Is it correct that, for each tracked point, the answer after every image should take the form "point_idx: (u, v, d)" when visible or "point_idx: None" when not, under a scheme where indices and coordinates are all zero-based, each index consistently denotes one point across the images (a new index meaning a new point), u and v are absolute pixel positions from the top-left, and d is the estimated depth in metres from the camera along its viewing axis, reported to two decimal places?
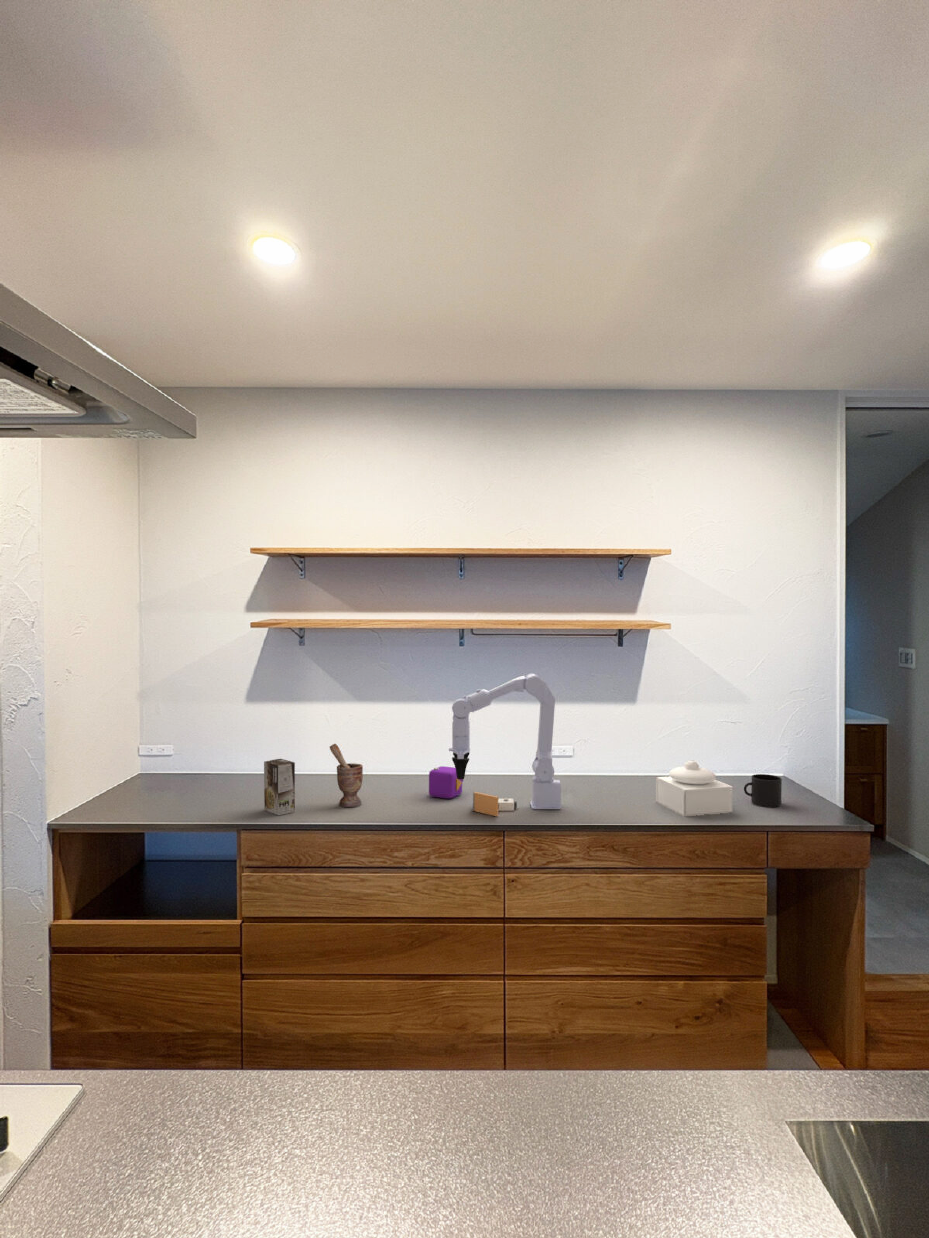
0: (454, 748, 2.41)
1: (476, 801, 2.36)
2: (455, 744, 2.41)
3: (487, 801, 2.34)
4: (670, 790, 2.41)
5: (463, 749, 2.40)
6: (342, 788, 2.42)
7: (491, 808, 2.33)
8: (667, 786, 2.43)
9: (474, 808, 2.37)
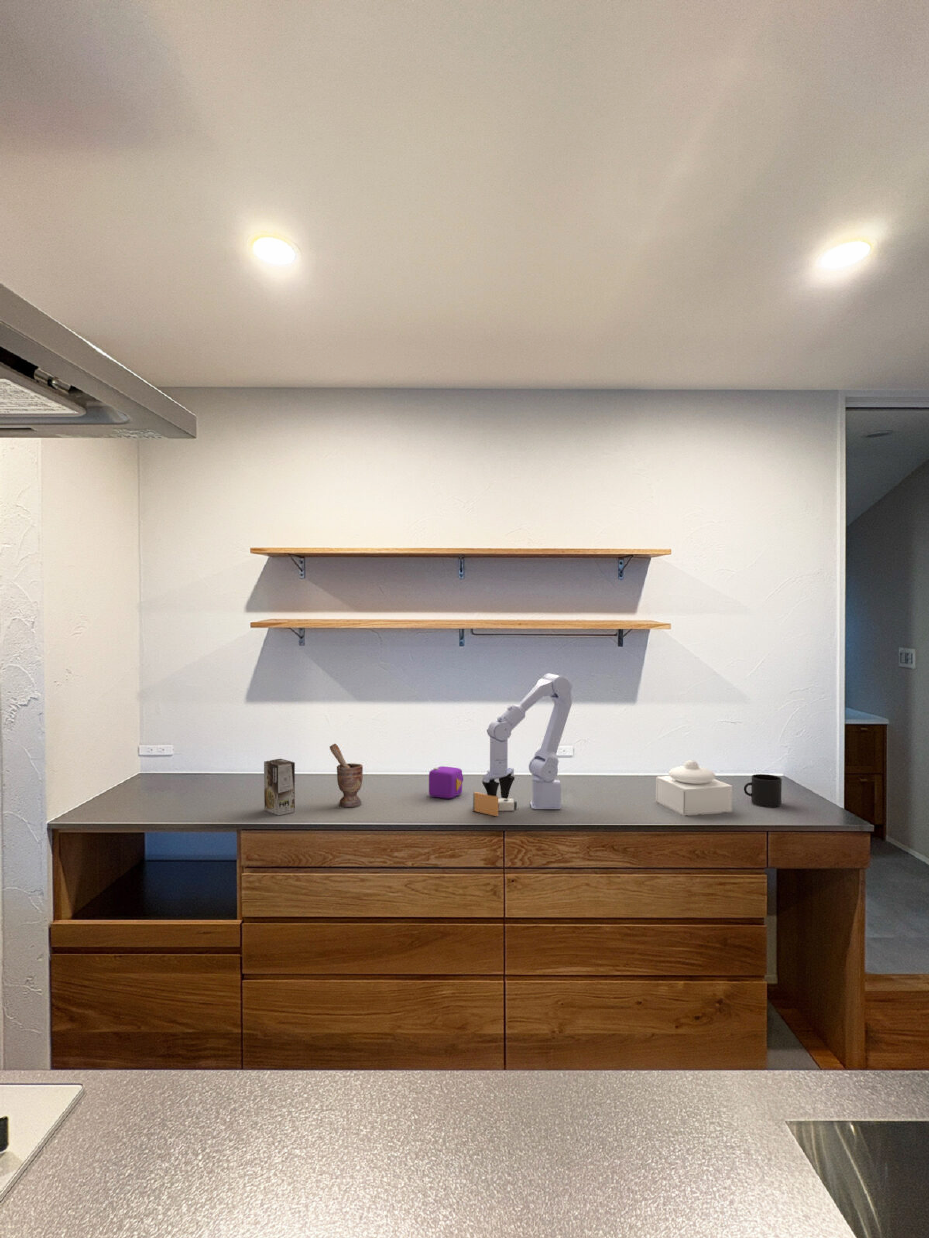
0: (490, 770, 2.37)
1: (476, 801, 2.36)
2: (490, 766, 2.37)
3: (487, 801, 2.34)
4: (669, 789, 2.42)
5: (495, 773, 2.35)
6: (342, 788, 2.42)
7: (491, 808, 2.33)
8: (667, 785, 2.43)
9: (474, 808, 2.37)
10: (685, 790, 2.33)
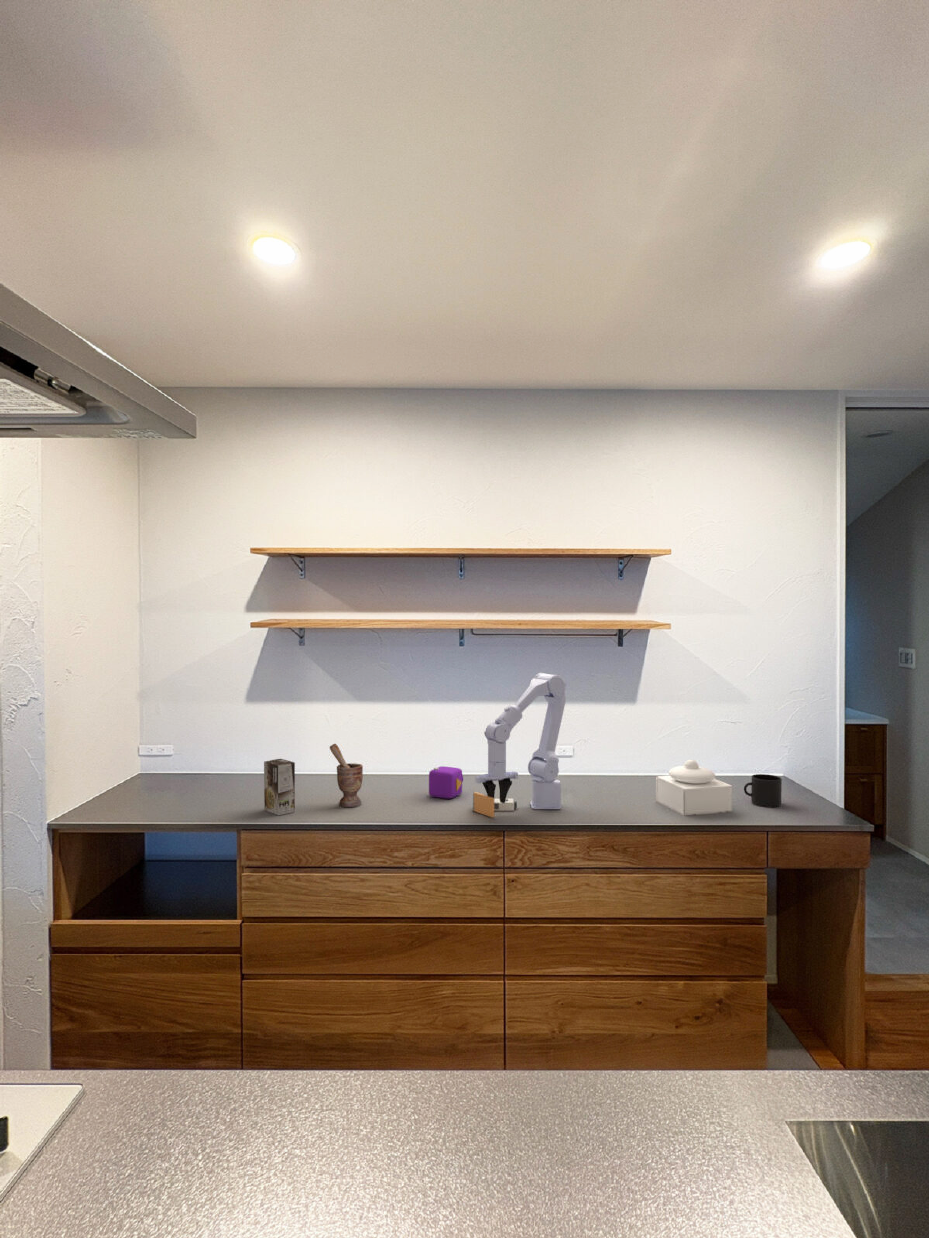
0: None
1: (476, 802, 2.36)
2: None
3: (484, 802, 2.33)
4: (669, 789, 2.42)
5: (490, 775, 2.32)
6: (342, 788, 2.42)
7: (488, 809, 2.32)
8: (667, 785, 2.44)
9: (474, 808, 2.37)
10: (685, 790, 2.33)
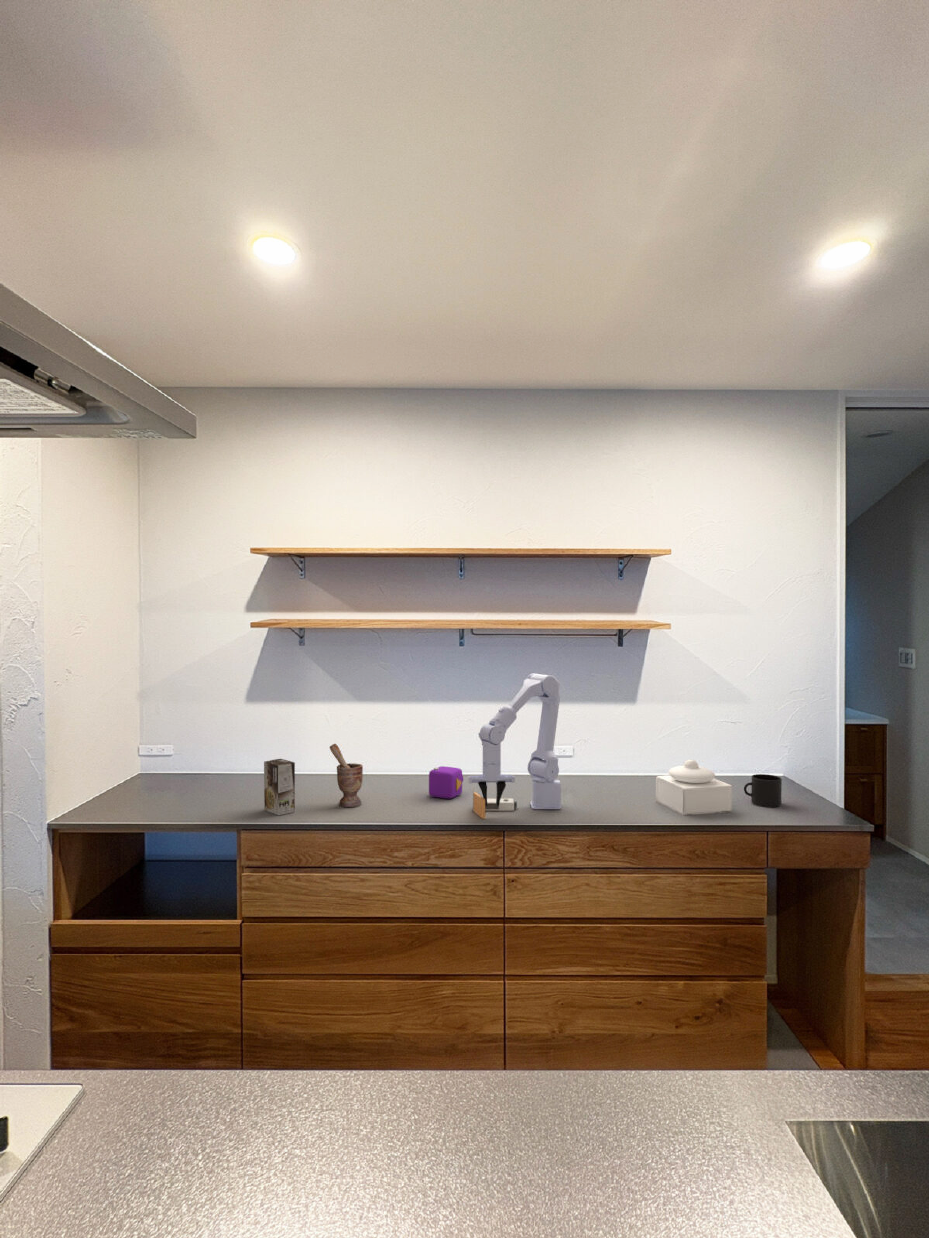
0: None
1: (474, 802, 2.36)
2: None
3: (478, 802, 2.32)
4: (669, 788, 2.43)
5: (483, 776, 2.30)
6: (342, 788, 2.42)
7: (480, 810, 2.30)
8: (666, 785, 2.44)
9: (473, 808, 2.37)
10: (685, 789, 2.34)
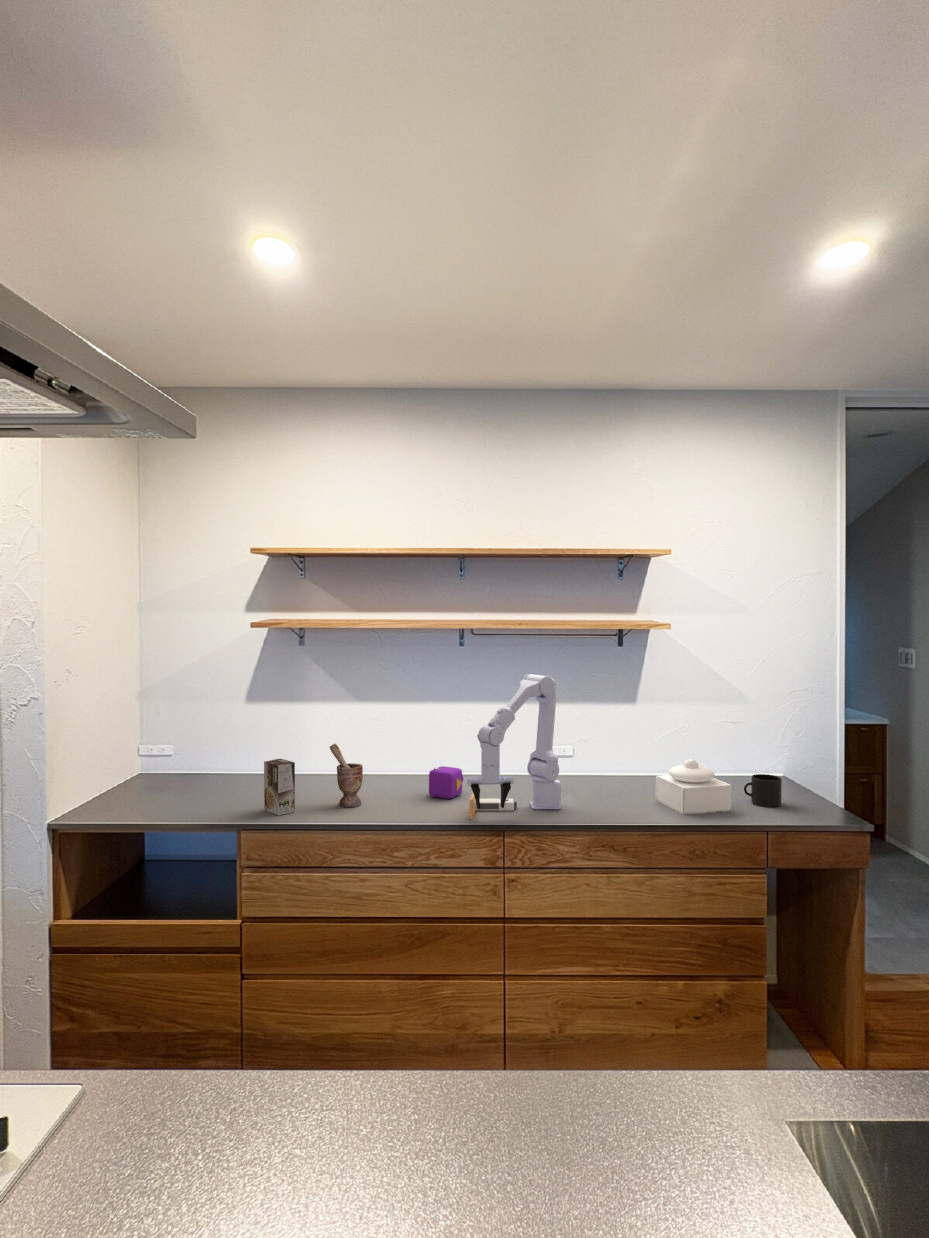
0: None
1: None
2: None
3: None
4: (669, 788, 2.43)
5: (482, 778, 2.28)
6: (342, 788, 2.42)
7: None
8: (666, 784, 2.45)
9: None
10: (684, 789, 2.35)
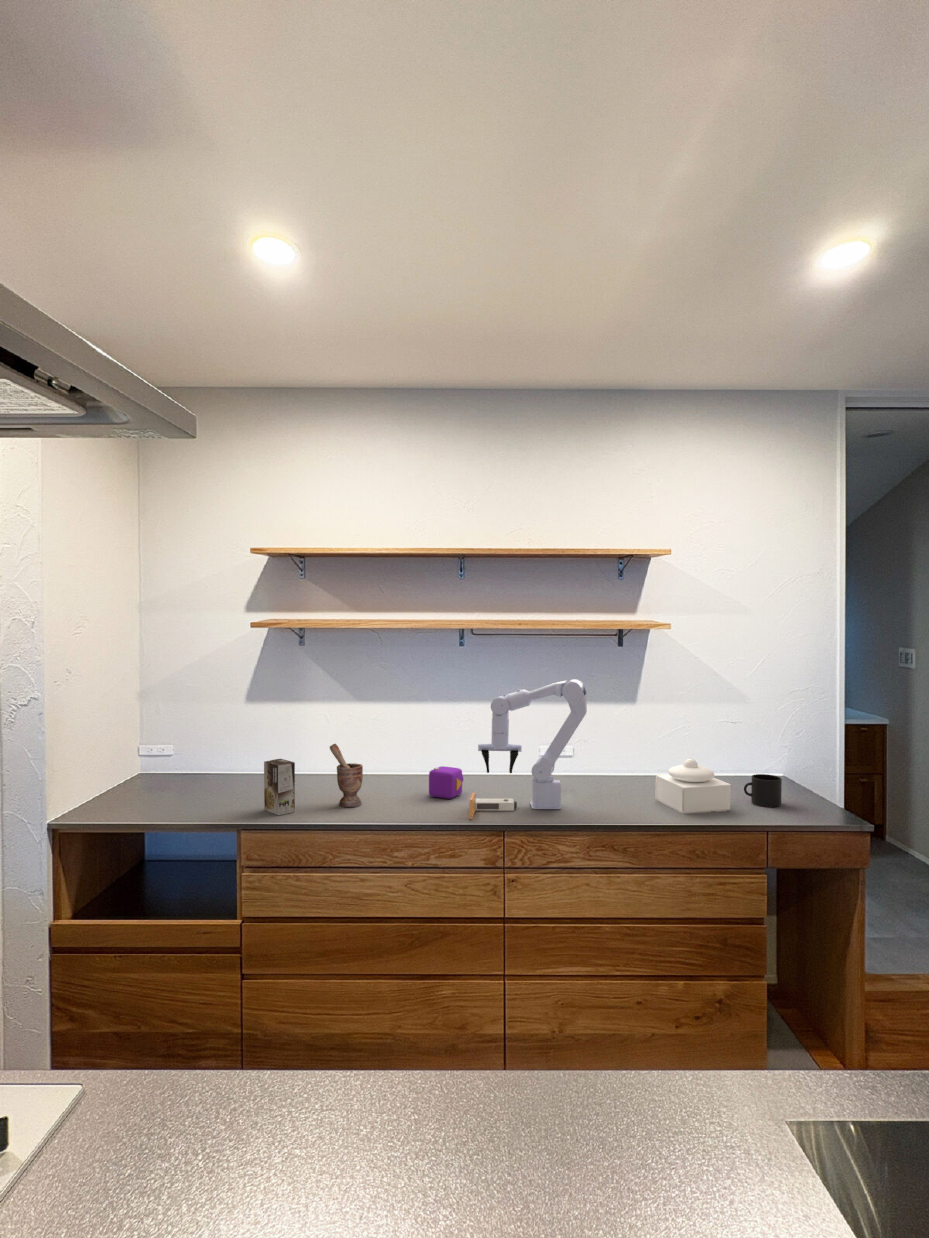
0: None
1: None
2: None
3: None
4: (669, 787, 2.44)
5: (491, 744, 2.46)
6: (342, 788, 2.42)
7: None
8: (666, 784, 2.46)
9: None
10: (684, 788, 2.35)
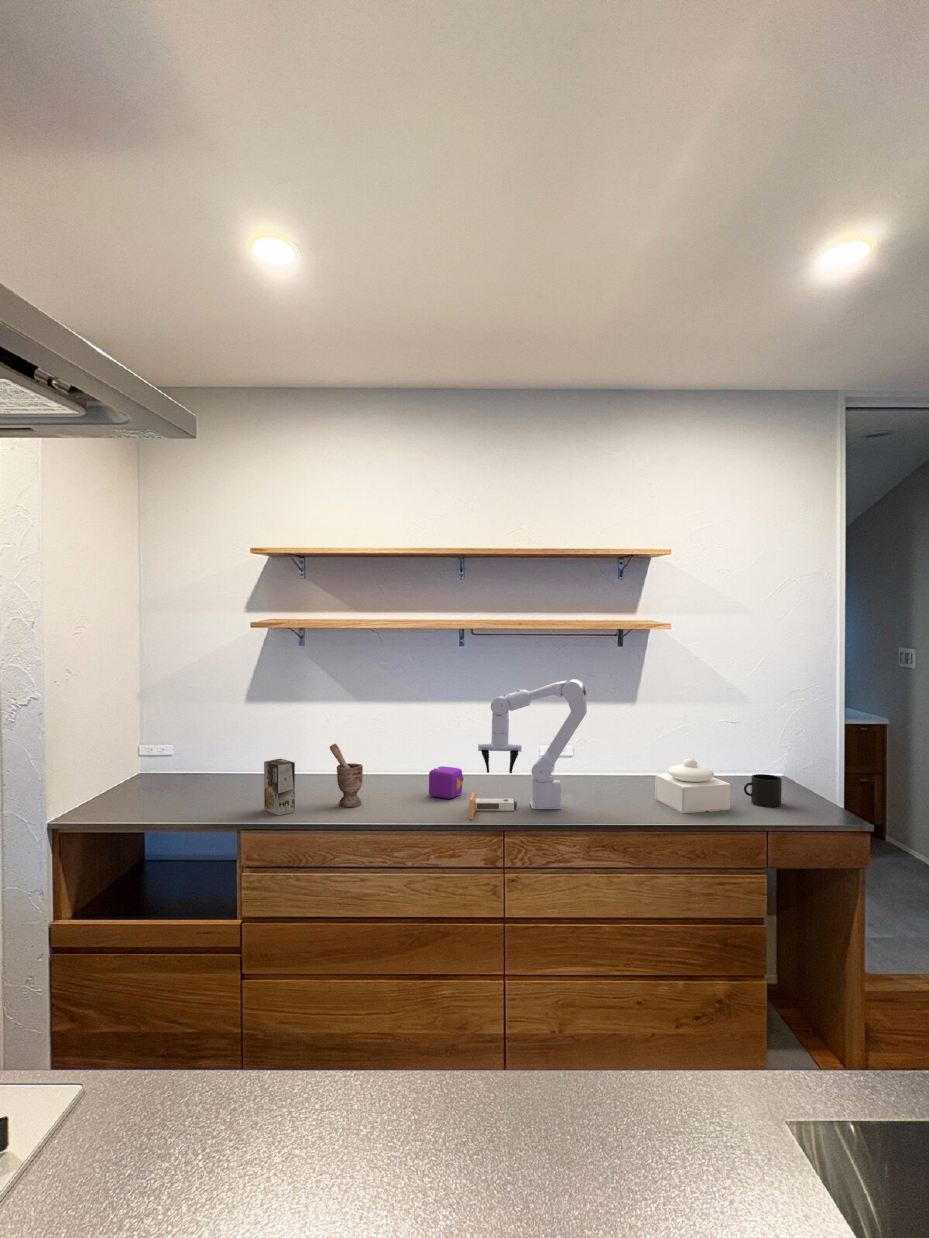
0: None
1: None
2: None
3: None
4: (668, 787, 2.45)
5: (491, 744, 2.46)
6: (342, 788, 2.42)
7: None
8: (666, 783, 2.46)
9: None
10: (684, 788, 2.36)
